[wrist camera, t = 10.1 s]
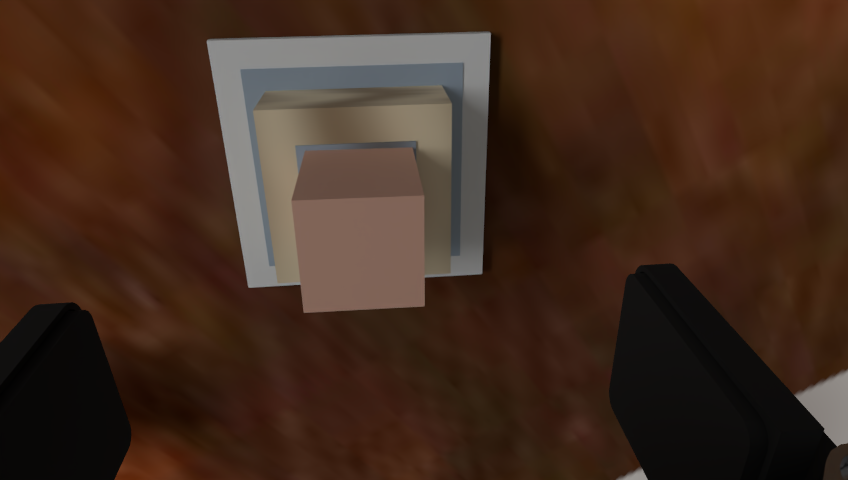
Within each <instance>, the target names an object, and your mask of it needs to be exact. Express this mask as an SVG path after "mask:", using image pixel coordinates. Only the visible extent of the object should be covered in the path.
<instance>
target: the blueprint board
mask: <svg viewBox="0 0 848 480" xmlns="http://www.w3.org/2000/svg"><path fill="white" fill-rule="evenodd" d="M490 43H491V33H490V32H454V33H416V34H378V35H340V36H302V37H264V38H226V39H209V40H207V45H208V51H209V57H210V63H211V69H212V75H213V81H214V87H215V93H216V98H217V104H218V110H219V116H220V122H221V128H222V134H223V140H224V146H225V152H226V157H227V163H228V169H229V175H230V181H231V187H232V193H233V199H234V205H235V210H236V216H237V222H238V228H239V234H240V240H241V246H242V252H243V258H244V264H245V269H246V275H247V281H248V287H249V288H251V287H268V286H285V285H301V283H300V282H292V283H278V282H277V275H276V268H275V261H274V254H273V247H272V240H271V233H270V226H269V219H268V213H267V206H266V199H265V192H264V185H263V178H262V171H261V164H260V157H259V150H258V143H257V136H256V129H255V122H254V115H253V110H254V108H255V106H256V105H257V103H258V102H259V100H260V99H261V97H262V96H263V94H264V93H265V91H282V90H312V89H342V88H372V87H402V86H433V85H442V87H443V88H444V90H445V92H446V94H447V95H448V97H449V99H450V101H451V103H452V161H451V273H447V274H430V275H425V277H440V276H457V275H474V274H482V265H483V238H484V210H485V182H486V154H487V127H488V99H489V71H490Z"/></svg>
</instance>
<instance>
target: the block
mask: <svg viewBox="0 0 848 480" xmlns="http://www.w3.org/2000/svg"><path fill="white" fill-rule="evenodd" d="M291 203H292V212H293V220H294V229H295V238H296V247H297V256H298V265H299V274H300V283H301V292H302V301H303V310H304V313H309V312H327V311H346V310H365V309H383V308H402V307H421V306H425V255H424V192H423V188H422V184H421V180H420V176H419V172H418V168H417V164H416V160H415V156H414V152H413V148H412V147H406V148H374V149H342V150H310V151H305V153H304V156H303V160H302V163H301V167H300V171H299V174H298V178H297V182H296V185H295V189H294V193H293V196H292V200H291Z"/></svg>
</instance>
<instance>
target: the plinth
mask: <svg viewBox="0 0 848 480" xmlns="http://www.w3.org/2000/svg"><path fill="white" fill-rule="evenodd" d="M253 115H254V122H255V129H256V136H257V143H258V150H259V157H260V164H261V171H262V178H263V185H264V192H265V199H266V206H267V213H268V219H269V226H270V233H271V240H272V247H273V254H274V261H275V268H276V275H277V282H278V283H292V282H300V274H299V265H298V256H297V247H296V238H295V229H294V220H293V212H292V203H291V200H292V196H293V193H294V189H295V185H296V182H297V178H298V174H299V171H300V167H301V163H302V160H303V156H304V153H305V151H310V150H342V149H374V148H406V147H412V148H413V152H414V156H415V160H416V164H417V168H418V172H419V176H420V180H421V184H422V188H423V192H424V255H425V275H430V274H447V273H451V161H452V103H451V101H450V99H449V97H448V95H447V94H446V92H445V90H444V88H443V87H442V85H433V86H402V87H372V88H342V89H312V90H282V91H265V93H264V94H263V96H262V97H261V99H260V100H259V102H258V103H257V105H256V106H255V108H254V110H253Z"/></svg>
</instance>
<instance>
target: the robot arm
mask: <svg viewBox="0 0 848 480" xmlns="http://www.w3.org/2000/svg"><path fill="white" fill-rule="evenodd" d="M609 397H610V403H611V407H612V409H613V411H614V413H615V415H616V417H617V419H618V421H619V423H620V425H621V427H622V429H623V431H624V433H625V435H626V437H627V439H628V441H629V443H630V445H631V447H632V449H633V451H634V453H635V455H636V457H637V459H638V461H639V463H640V465H641V467H642V469H643V471H644V473H645V475H646V477H647V479H648V480H848V443H847V444H841V445H839V446H838V447H837V446H836V445H835V444H834V443H833V442H832V441H831V439H830V438H829V437H828V436H827V435H826V434H825V433H824V432H823V431H824V428H823V427H822V426H821V424H820V423H819V422H818V421H817V420H816V419H815V418H814V417H813V416H812V415H811V414H810V412H809V411H808V410H807V409H806V408H805V407H804V406H803V405H802V404H801V403H800V401H799V400H798V399H797V398H796V397H795V396H794V395H793V394H792V393H791V391H790V390H789V389H788V388H787V387H786V386H785V385H784V384H783V383H782V382H781V381H780V379H779V378H778V377H777V376H776V375H775V374H774V373H773V372H772V371H771V370H770V368H769V367H768V366H767V365H766V364H765V363H764V362H763V361H762V360H761V359H760V357H759V356H758V355H757V354H756V353H755V352H754V351H753V350H752V349H751V348H750V346H749V345H748V344H747V343H746V342H745V341H744V340H743V339H742V338H741V337H740V335H739V334H738V333H737V332H736V331H735V330H734V329H733V328H732V327H731V326H730V324H729V323H728V322H727V321H726V320H725V319H724V318H723V317H722V316H721V315H720V313H719V312H718V311H717V310H716V309H715V308H714V307H713V306H712V305H711V304H710V302H709V301H708V300H707V299H706V298H705V297H704V296H703V295H702V294H701V293H700V291H699V290H698V289H697V288H696V287H695V286H694V285H693V284H692V283H691V282H690V280H689V279H688V278H687V277H686V276H685V275H684V274H683V273H682V272H681V271H680V270H679V268H678V267H677V266H675V265H674V264H655V265H641V266H639V267H638V268H637V270H636V273H635V274H630V275H628V277H627V279H626V284H625V290H624V297H623V303H622V310H621V316H620V323H619V329H618V336H617V342H616V349H615V355H614V362H613V368H612V375H611V381H610V388H609ZM130 441H131V428H130V424H129V421H128V418H127V415H126V412H125V410H124V407H123V404H122V401H121V398H120V395H119V392H118V389H117V387H116V384H115V381H114V378H113V375H112V372H111V369H110V366H109V364H108V361H107V358H106V355H105V352H104V349H103V346H102V343H101V341H100V338H99V335H98V332H97V329H96V326H95V323H94V321H93V318H92V316H91V314H90V313H89V312H88V311H86V310H81V309H80V307H79V306H78V305H77V304H75V303H73V302H71V303H56V304H40V305H35V306H34V307H33V308H31V309H30V310H29V312H28V313H27V314H26V315H25V316H24V317H23V318H22V319H21V321H20V322H19V323H18V324H17V325H16V326H15V327H14V328H13V329H12V331H11V332H10V333H9V334H8V335H7V336H6V337H5V338H4V339H3V341H2V342H1V343H0V480H114V479H115V477H116V475H117V472H118V470H119V468H120V466H121V464H122V462H123V460H124V457H125V455H126V453H127V451H128V449H129V446H130Z"/></svg>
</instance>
